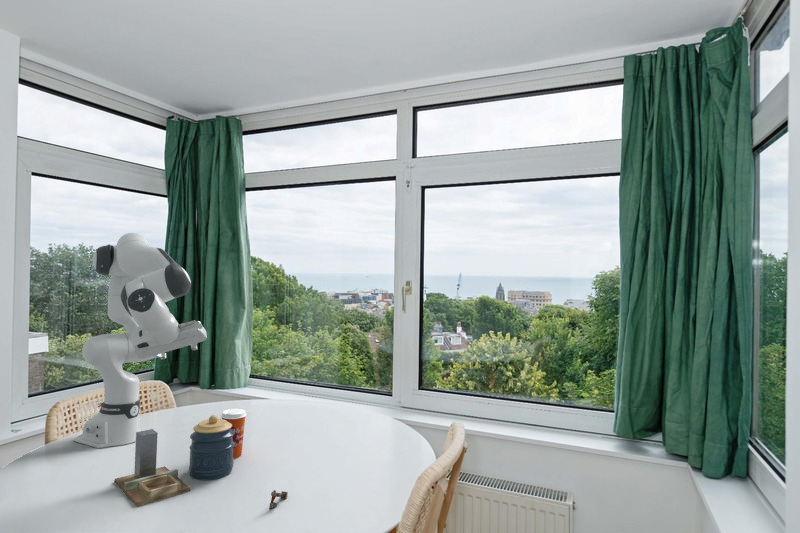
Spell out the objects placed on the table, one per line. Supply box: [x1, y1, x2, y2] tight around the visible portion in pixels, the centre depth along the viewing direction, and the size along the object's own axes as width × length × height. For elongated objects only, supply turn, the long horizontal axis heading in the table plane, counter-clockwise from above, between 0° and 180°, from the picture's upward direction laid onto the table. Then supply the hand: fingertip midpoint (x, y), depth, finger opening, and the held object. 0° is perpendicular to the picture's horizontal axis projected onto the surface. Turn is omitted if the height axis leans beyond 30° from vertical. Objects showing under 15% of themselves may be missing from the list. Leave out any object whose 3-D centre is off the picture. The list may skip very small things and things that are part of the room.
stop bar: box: [133, 428, 158, 479], centre depth 141 cm, size 4×4×13 cm
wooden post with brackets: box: [268, 489, 289, 510], centre depth 128 cm, size 2×8×4 cm, turn 167°
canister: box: [188, 414, 235, 481], centre depth 148 cm, size 13×13×18 cm
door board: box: [114, 466, 191, 507], centre depth 137 cm, size 14×20×3 cm
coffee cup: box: [220, 408, 247, 460], centre depth 162 cm, size 8×8×15 cm
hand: (179, 352), depth 151 cm, fingers open, 8 cm apart
